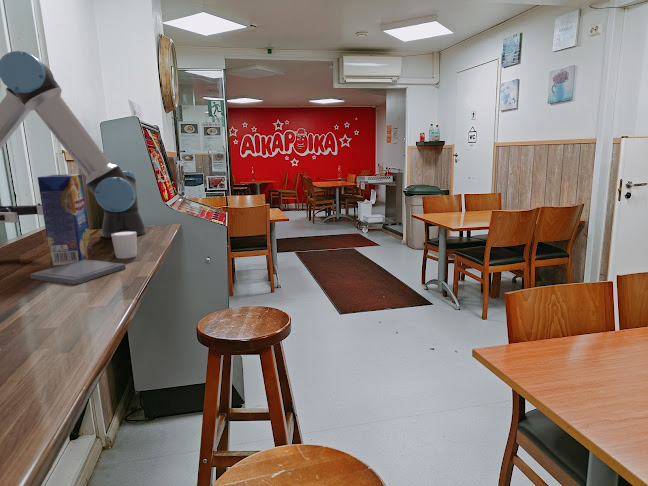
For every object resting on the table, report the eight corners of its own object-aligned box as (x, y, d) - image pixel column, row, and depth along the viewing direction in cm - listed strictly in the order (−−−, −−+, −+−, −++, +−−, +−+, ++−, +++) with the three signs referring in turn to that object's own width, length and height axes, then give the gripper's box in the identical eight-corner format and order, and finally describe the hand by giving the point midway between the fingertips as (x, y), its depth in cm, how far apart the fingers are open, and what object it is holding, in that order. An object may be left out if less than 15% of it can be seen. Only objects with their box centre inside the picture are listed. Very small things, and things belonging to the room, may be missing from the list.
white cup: (121, 260, 121) (118, 236, 119) (109, 256, 125) (106, 233, 123) (143, 255, 126) (141, 232, 125) (131, 252, 130) (129, 230, 129)
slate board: (84, 263, 118) (83, 259, 117) (125, 268, 112) (125, 263, 112) (30, 278, 104) (30, 273, 104) (74, 284, 99) (73, 279, 98)
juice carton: (81, 263, 118) (69, 176, 113) (51, 265, 116) (37, 177, 111) (92, 253, 129) (81, 174, 124) (65, 255, 127) (53, 174, 122)
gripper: (16, 218, 139) (72, 220, 134) (-66, 232, 115) (-1, 235, 111) (12, 195, 137) (69, 196, 133) (-72, 205, 113) (-6, 206, 109)
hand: (37, 214), depth 122 cm, fingers open, 13 cm apart
